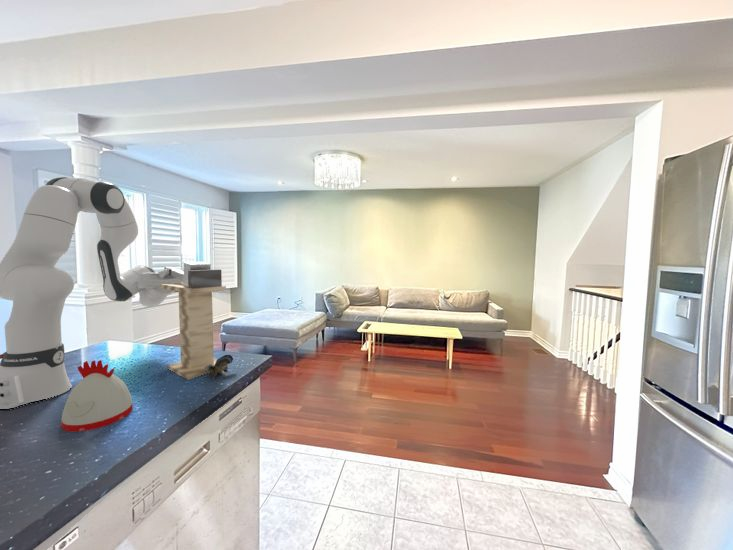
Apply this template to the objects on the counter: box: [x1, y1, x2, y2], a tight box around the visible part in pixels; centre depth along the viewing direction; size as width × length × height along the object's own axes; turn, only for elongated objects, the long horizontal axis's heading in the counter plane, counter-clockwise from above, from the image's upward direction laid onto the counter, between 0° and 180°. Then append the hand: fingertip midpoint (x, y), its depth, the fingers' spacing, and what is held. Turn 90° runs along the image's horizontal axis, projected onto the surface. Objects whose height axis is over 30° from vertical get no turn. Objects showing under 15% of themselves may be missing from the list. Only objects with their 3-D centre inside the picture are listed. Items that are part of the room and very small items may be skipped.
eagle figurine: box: [204, 354, 234, 380], centre depth 106 cm, size 8×7×9 cm
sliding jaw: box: [163, 261, 212, 286], centre depth 114 cm, size 26×7×8 cm, turn 55°
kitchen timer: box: [60, 359, 134, 433], centre depth 78 cm, size 14×14×15 cm
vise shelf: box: [160, 268, 228, 381], centre depth 111 cm, size 24×14×37 cm, turn 55°
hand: (173, 270), depth 119 cm, fingers closed on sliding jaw, 3 cm apart
